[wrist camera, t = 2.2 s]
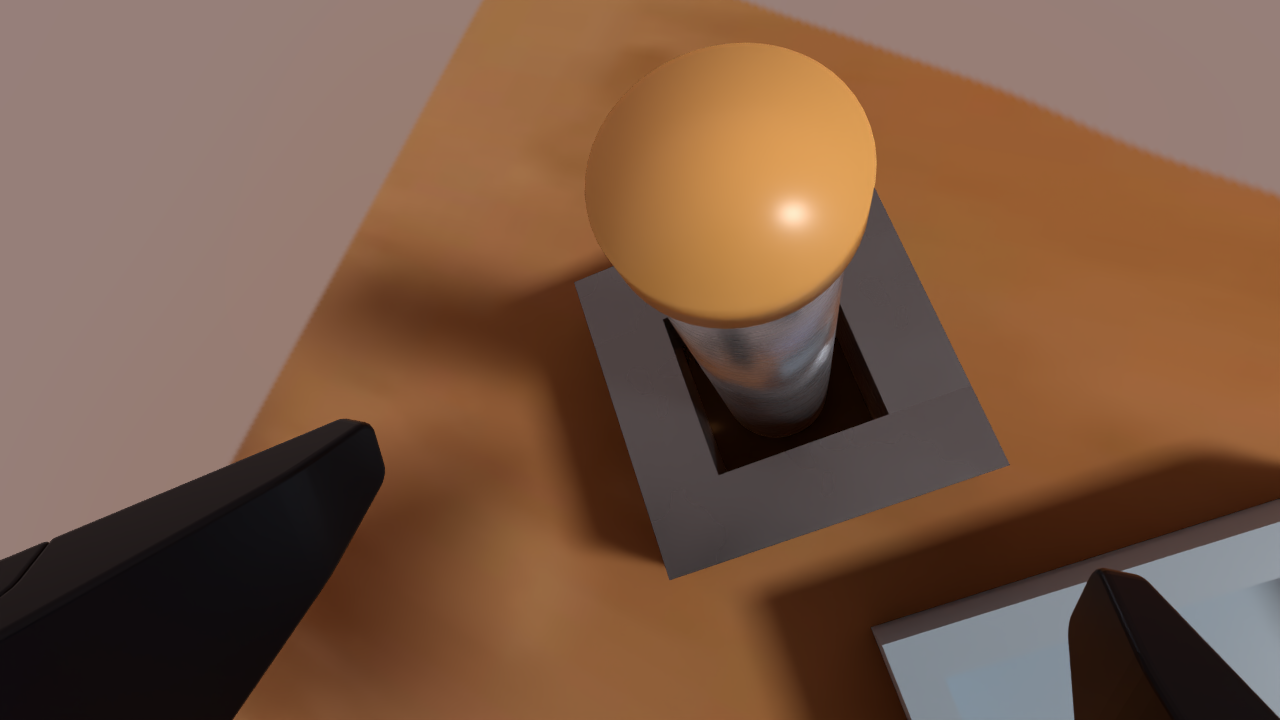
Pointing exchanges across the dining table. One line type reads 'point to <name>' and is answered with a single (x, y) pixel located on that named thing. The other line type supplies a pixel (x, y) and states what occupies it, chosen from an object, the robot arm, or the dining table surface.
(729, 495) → the pin collar
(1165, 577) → the tray
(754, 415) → the pin
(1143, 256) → the dining table surface
